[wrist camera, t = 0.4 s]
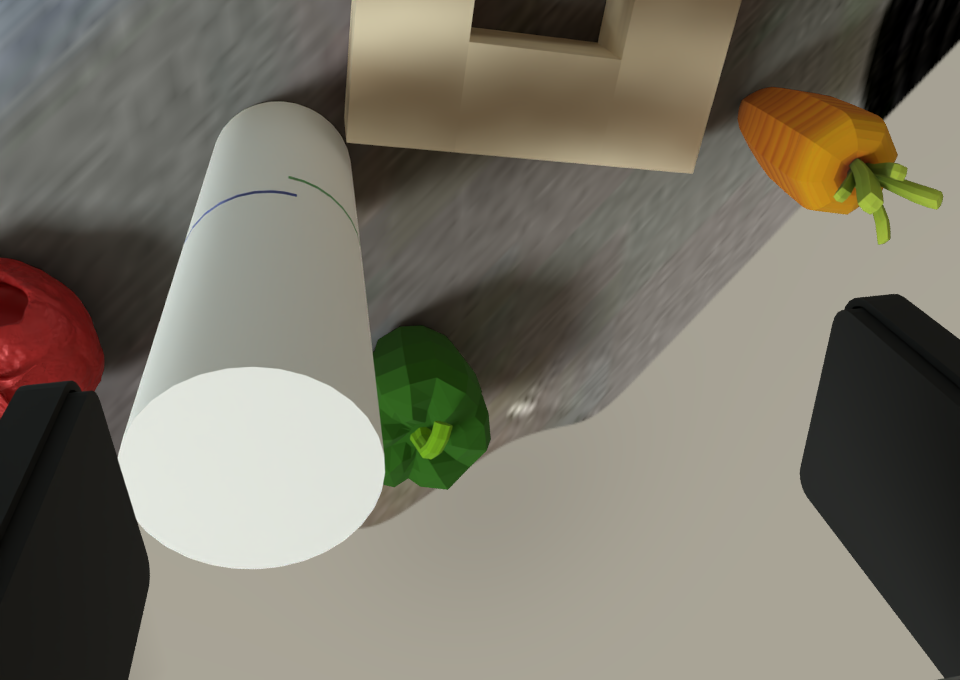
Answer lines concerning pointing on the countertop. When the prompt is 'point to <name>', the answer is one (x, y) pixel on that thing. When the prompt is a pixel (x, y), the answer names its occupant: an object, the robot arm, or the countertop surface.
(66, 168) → the countertop surface
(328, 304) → the cylindrical container
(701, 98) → the maple block
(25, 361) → the pomegranate
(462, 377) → the bell pepper
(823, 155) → the carrot
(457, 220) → the countertop surface
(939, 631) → the robot arm
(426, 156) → the countertop surface
